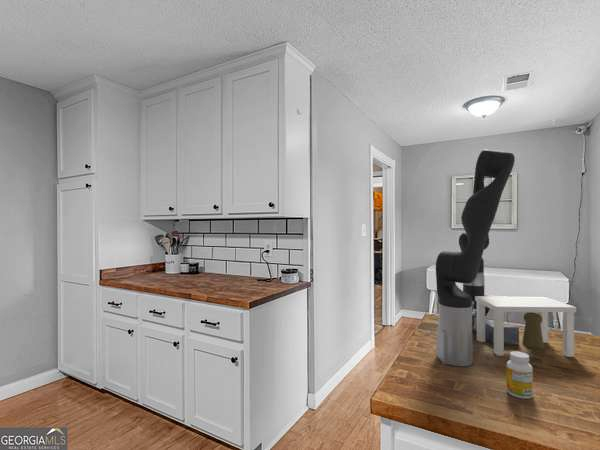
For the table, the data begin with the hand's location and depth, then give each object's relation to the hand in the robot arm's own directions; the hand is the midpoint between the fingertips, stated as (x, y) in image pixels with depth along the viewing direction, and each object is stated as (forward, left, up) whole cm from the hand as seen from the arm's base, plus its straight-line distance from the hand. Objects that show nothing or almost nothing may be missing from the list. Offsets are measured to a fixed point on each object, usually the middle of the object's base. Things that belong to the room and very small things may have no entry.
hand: (473, 326), depth 131 cm
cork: (+12, -17, -1) cm, 21 cm away
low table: (+7, -20, -1) cm, 21 cm away
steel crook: (+3, -7, -1) cm, 8 cm away
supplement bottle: (-11, -50, -1) cm, 51 cm away
